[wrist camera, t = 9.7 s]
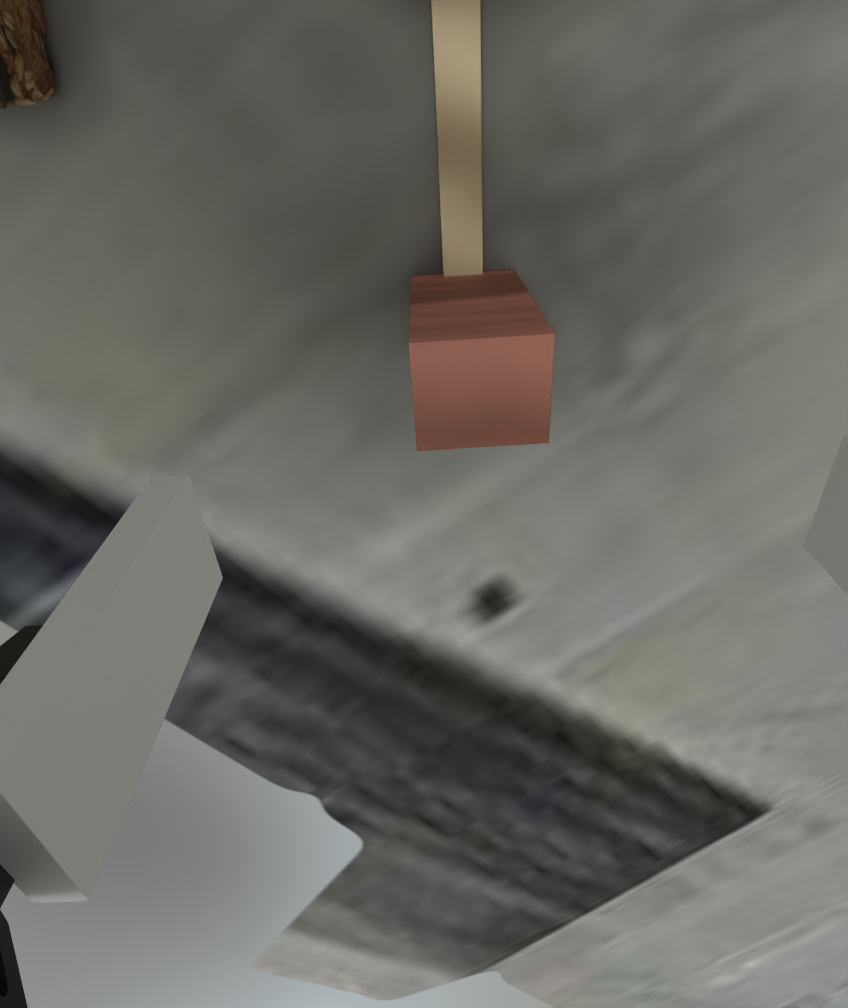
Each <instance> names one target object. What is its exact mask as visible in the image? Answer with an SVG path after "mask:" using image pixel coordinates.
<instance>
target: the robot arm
mask: <svg viewBox="0 0 848 1008" xmlns="http://www.w3.org/2000/svg"><path fill="white" fill-rule="evenodd" d="M803 546H804V547H805V548H806V549H807V550H808V551H809V553H810V554H811V555H812V556H813V557H814V558H815V559H816V560H817V561H818V563H819V564H820V565H821V566H822V567H823V568H824V569H825V570H826V571H827V573H828V574H829V575H830V576H831V577H832V578H833V579H834V580H835V581H836V583H837V584H838V585H839V586H840V587H841V588H842V589H843V590H844V591H845V593H846V594H847V595H848V435H844V437H843V440H842V442H841V445H840V448H839V450H838V453H837V456H836V458H835V461H834V464H833V467H832V469H831V472H830V475H829V477H828V480H827V483H826V485H825V488H824V491H823V494H822V496H821V499H820V502H819V504H818V507H817V510H816V512H815V515H814V518H813V521H812V523H811V526H810V529H809V531H808V534H807V537H806V539H805V542H804V545H803ZM222 578H223V577H222V574H221V571H220V568H219V565H218V562H217V559H216V556H215V553H214V550H213V547H212V544H211V541H210V538H209V535H208V532H207V529H206V526H205V523H204V520H203V517H202V514H201V510H200V507H199V504H198V501H197V498H196V495H195V492H194V489H193V486H192V483H191V480H190V477H189V475H173V476H156V477H151V478H150V480H149V481H148V482H147V484H146V485H145V486H144V488H143V489H142V491H141V492H140V493H139V495H138V496H137V497H136V499H135V500H134V502H133V503H132V504H131V506H130V507H129V508H128V510H127V511H126V512H125V514H124V515H123V517H122V518H121V519H120V521H119V522H118V523H117V525H116V526H115V528H114V529H113V530H112V532H111V533H110V534H109V536H108V537H107V539H106V540H105V541H104V543H103V544H102V545H101V547H100V548H99V550H98V551H97V552H96V554H95V555H94V556H93V558H92V559H91V561H90V562H89V563H88V565H87V566H86V567H85V569H84V570H83V572H82V573H81V574H80V576H79V577H78V578H77V580H76V581H75V583H74V584H73V585H72V587H71V588H70V589H69V591H68V592H67V594H66V595H65V596H64V598H63V599H62V600H61V602H60V603H59V605H58V606H57V607H56V609H55V610H54V611H53V613H52V614H51V616H50V617H49V618H48V620H47V621H46V622H45V624H44V625H37V626H25V627H24V628H23V629H21V630H20V631H19V632H18V633H16V634H15V635H14V636H13V637H11V638H10V639H9V640H7V641H6V642H5V643H4V644H3V645H1V646H0V908H1V905H2V903H3V902H4V900H5V898H6V896H7V894H8V892H9V890H10V889H11V887H12V885H13V883H15V884H16V885H17V886H18V888H19V889H20V890H21V891H22V892H23V893H24V894H25V895H26V896H27V897H28V898H29V899H30V900H31V901H32V902H33V903H43V902H66V901H88V900H89V898H90V896H91V893H92V891H93V888H94V886H95V884H96V881H97V879H98V876H99V874H100V872H101V869H102V867H103V864H104V862H105V860H106V857H107V855H108V853H109V850H110V847H111V845H112V843H113V840H114V838H115V835H116V833H117V831H118V828H119V826H120V823H121V821H122V819H123V816H124V814H125V812H126V809H127V807H128V804H129V802H130V799H131V797H132V795H133V792H134V790H135V788H136V785H137V782H138V780H139V778H140V776H141V773H142V771H143V768H144V766H145V763H146V761H147V759H148V756H149V754H150V752H151V749H152V747H153V744H154V742H155V739H156V737H157V735H158V732H159V730H160V727H161V725H162V722H163V720H164V718H165V715H166V713H167V711H168V708H169V706H170V703H171V701H172V699H173V696H174V694H175V691H176V689H177V687H178V684H179V682H180V679H181V677H182V675H183V672H184V670H185V667H186V665H187V663H188V660H189V658H190V655H191V653H192V650H193V648H194V646H195V643H196V641H197V638H198V636H199V634H200V631H201V629H202V626H203V624H204V622H205V619H206V617H207V614H208V612H209V610H210V607H211V605H212V602H213V600H214V598H215V595H216V593H217V590H218V588H219V586H220V583H221V581H222ZM0 1008H27V1003H26V999H25V995H24V990H23V986H22V982H21V977H20V973H19V968H18V964H17V960H16V955H15V951H14V947H13V942H12V938H11V933H10V929H9V925H8V922H7V920H6V919H5V917H4V915H3V914H2V912H1V911H0Z"/></svg>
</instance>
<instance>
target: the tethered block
mask: <svg viewBox="0 0 848 1008" xmlns="http://www.w3.org/2000/svg"><path fill="white" fill-rule="evenodd" d="M431 10H432V33H433V55H434V78H435V101H436V123H437V146H438V168H439V191H440V214H441V236H442V259H443V274H429V275H415V276H411V296H410V320H409V355H410V368H411V380H412V393H413V405H414V418H415V430H416V443H417V451H423V450H440V449H456V448H472V447H489V446H505V445H521V444H538V443H549V431H550V414H551V397H552V379H553V362H554V345H555V333H554V331H553V329H552V328H551V326H550V325H549V323H548V322H547V320H546V318H545V317H544V315H543V314H542V312H541V311H540V309H539V308H538V306H537V304H536V303H535V301H534V300H533V298H532V297H531V295H530V294H529V292H528V290H527V289H526V287H525V286H524V284H523V283H522V281H521V280H520V278H519V276H518V275H517V273H516V272H515V270H514V269H501V270H487V271H483V239H482V129H481V20H480V0H431Z"/></svg>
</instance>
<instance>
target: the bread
mask: <svg viewBox="0 0 848 1008" xmlns="http://www.w3.org/2000/svg"><path fill="white" fill-rule="evenodd" d="M44 41H45V22H44V14H43V10H42V7H41V3H40V0H0V108H6V106H7V105H20V106H25V105H36V103H35V102H40V101H46V100H47V99H48V98H49V97H50V96H51V94H52V93H53V91H54V72H53V67H52V62H51V61H50V59H49V57H48V55H47V53H46V51H45V49H44V46H43V45H44Z"/></svg>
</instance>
